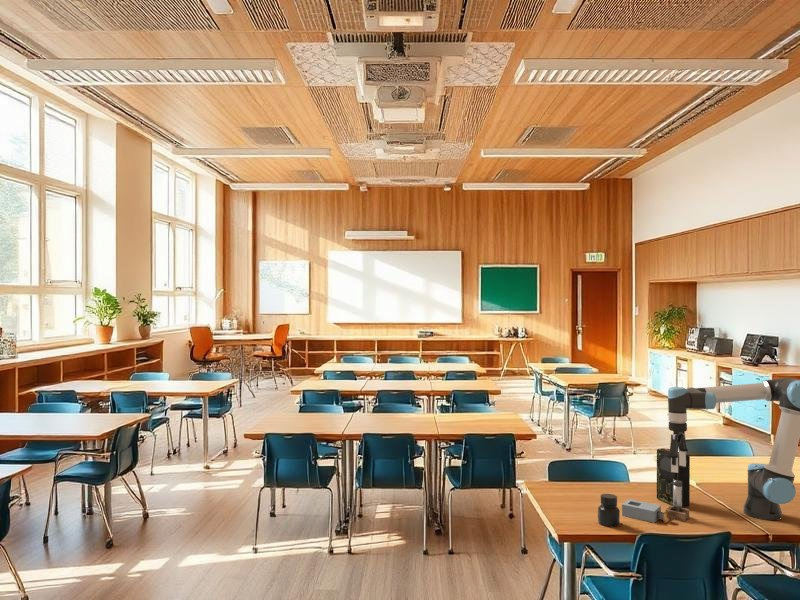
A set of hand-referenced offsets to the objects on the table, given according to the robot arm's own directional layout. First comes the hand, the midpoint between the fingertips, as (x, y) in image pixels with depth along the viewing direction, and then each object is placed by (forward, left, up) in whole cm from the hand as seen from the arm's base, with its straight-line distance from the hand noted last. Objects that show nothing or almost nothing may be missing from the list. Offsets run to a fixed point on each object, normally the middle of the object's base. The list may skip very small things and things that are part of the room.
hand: (678, 468), depth 264 cm
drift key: (+7, +9, -22) cm, 24 cm away
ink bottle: (+21, +28, -22) cm, 42 cm away
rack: (0, 0, -22) cm, 22 cm away
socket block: (+13, +9, -22) cm, 27 cm away
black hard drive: (+7, -20, -22) cm, 31 cm away
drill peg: (0, 0, -21) cm, 21 cm away
